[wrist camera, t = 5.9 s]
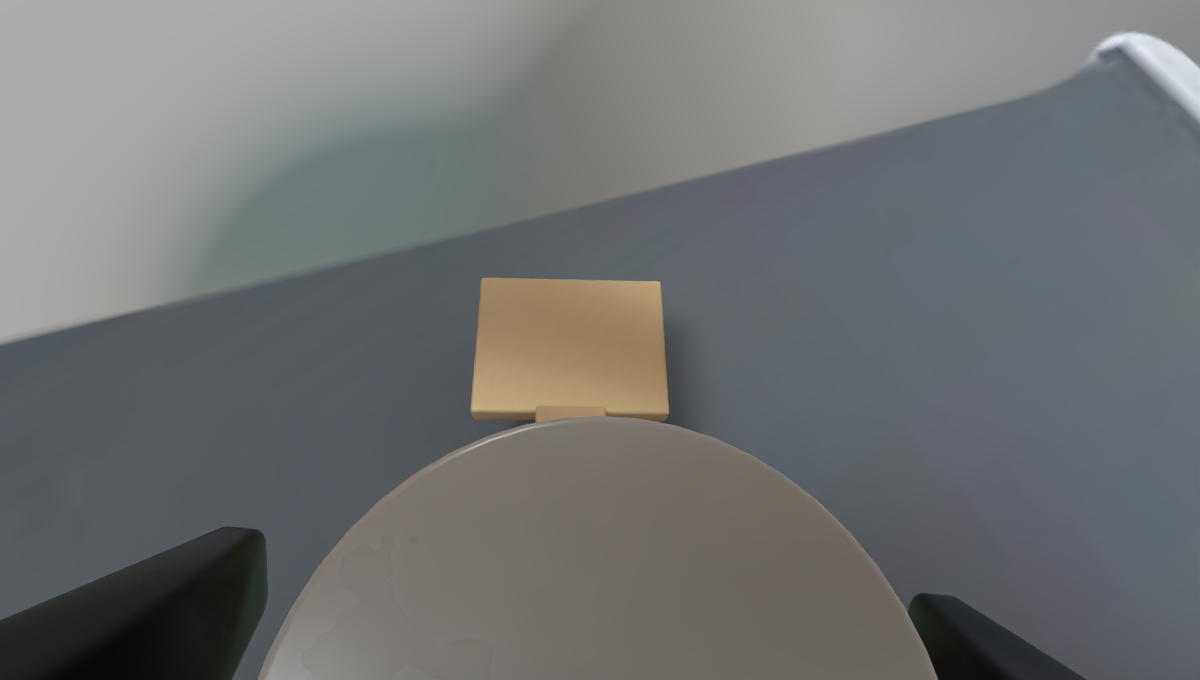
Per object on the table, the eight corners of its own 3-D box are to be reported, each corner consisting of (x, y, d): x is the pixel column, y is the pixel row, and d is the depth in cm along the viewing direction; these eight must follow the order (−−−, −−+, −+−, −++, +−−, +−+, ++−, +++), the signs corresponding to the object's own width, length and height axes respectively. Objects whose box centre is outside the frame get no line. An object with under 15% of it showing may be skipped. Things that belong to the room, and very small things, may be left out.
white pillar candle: (731, 912, 11) (1404, 1650, 2) (395, 923, 11) (-285, 1829, 2) (682, 298, 16) (829, -169, 8) (457, 293, 16) (347, -200, 7)
